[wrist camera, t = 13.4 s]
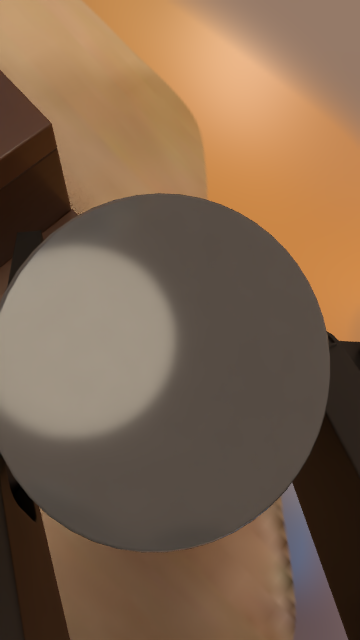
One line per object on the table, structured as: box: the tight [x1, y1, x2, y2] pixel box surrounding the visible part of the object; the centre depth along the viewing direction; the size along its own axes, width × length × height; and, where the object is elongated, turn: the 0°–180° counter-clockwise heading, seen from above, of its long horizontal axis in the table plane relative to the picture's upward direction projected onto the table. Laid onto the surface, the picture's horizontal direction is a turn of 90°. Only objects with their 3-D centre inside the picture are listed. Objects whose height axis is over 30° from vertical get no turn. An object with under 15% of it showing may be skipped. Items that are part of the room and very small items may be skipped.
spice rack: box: [0, 70, 78, 301], centre depth 13 cm, size 19×7×11 cm, turn 47°
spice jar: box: [0, 193, 330, 552], centre depth 9 cm, size 5×5×10 cm
